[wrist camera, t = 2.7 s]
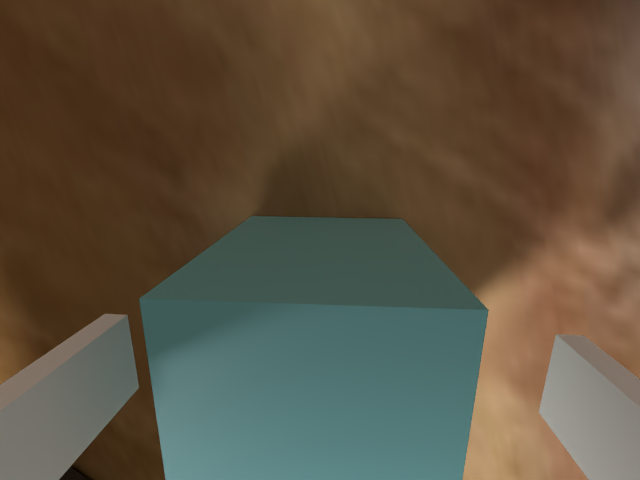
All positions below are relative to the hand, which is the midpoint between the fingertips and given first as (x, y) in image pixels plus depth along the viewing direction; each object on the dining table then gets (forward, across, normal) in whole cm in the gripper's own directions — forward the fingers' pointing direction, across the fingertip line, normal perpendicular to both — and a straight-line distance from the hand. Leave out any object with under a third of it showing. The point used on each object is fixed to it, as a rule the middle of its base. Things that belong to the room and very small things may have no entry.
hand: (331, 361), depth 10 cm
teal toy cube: (+6, 0, 0) cm, 6 cm away
